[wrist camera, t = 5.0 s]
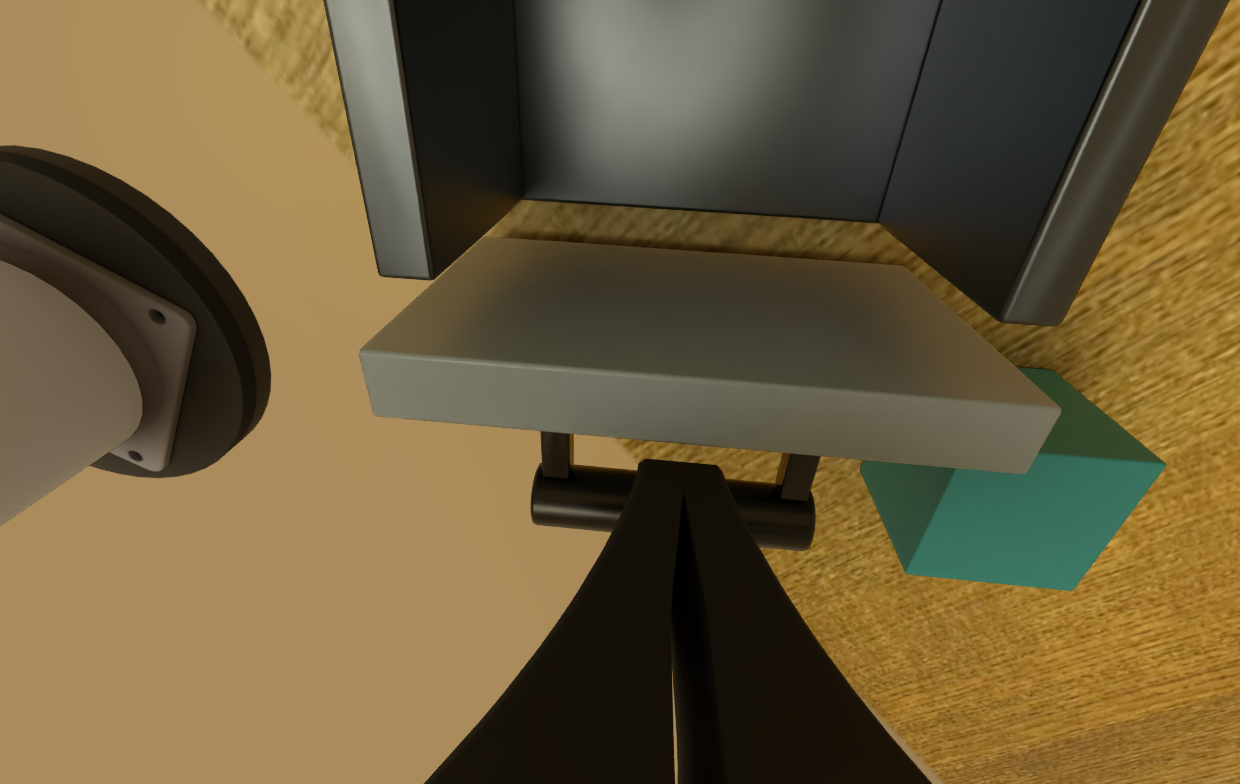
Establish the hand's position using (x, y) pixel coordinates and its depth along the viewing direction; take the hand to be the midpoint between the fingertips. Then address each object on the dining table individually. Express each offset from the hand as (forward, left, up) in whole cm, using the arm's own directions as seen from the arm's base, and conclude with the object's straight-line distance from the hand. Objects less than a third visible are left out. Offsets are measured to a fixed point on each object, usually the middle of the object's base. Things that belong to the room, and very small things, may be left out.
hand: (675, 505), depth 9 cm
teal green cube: (+8, +2, -7) cm, 10 cm away
